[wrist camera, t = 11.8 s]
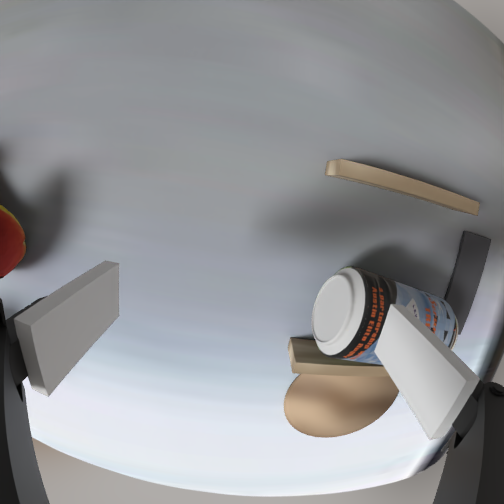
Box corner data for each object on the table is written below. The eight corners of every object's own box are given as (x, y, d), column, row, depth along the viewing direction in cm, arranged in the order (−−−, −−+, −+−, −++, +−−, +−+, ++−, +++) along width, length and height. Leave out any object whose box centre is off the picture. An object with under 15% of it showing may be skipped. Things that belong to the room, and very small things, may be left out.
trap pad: (463, 230, 21) (465, 231, 20) (489, 238, 21) (491, 239, 21) (432, 332, 23) (433, 334, 23) (458, 333, 23) (460, 334, 23)
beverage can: (354, 260, 15) (485, 301, 16) (315, 262, 22) (430, 294, 23) (323, 371, 15) (462, 383, 15) (294, 339, 22) (412, 359, 23)
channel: (327, 161, 20) (341, 158, 16) (454, 198, 20) (479, 203, 17) (287, 347, 23) (292, 373, 20) (407, 354, 24) (423, 375, 20)
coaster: (300, 343, 23) (301, 345, 23) (417, 350, 24) (418, 351, 23) (272, 434, 26) (272, 436, 26) (373, 433, 27) (374, 434, 26)
